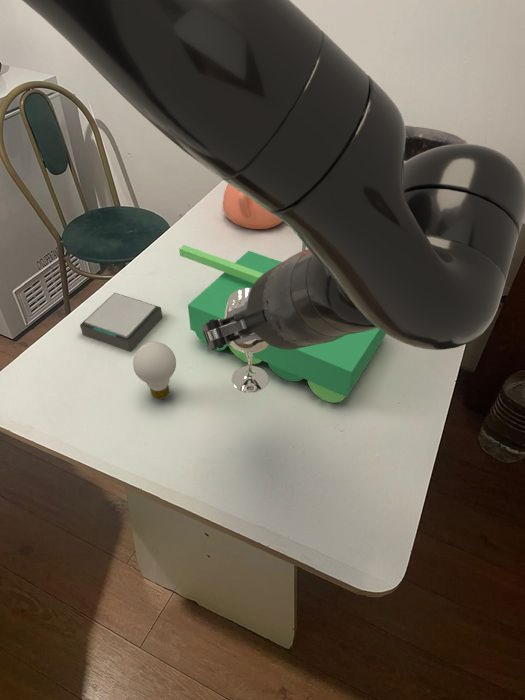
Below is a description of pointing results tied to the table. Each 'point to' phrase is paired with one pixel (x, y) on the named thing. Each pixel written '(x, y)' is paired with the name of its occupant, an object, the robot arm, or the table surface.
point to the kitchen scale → (121, 321)
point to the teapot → (247, 211)
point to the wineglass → (247, 352)
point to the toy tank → (308, 362)
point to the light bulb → (155, 367)
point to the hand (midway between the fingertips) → (242, 325)
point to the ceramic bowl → (426, 140)
